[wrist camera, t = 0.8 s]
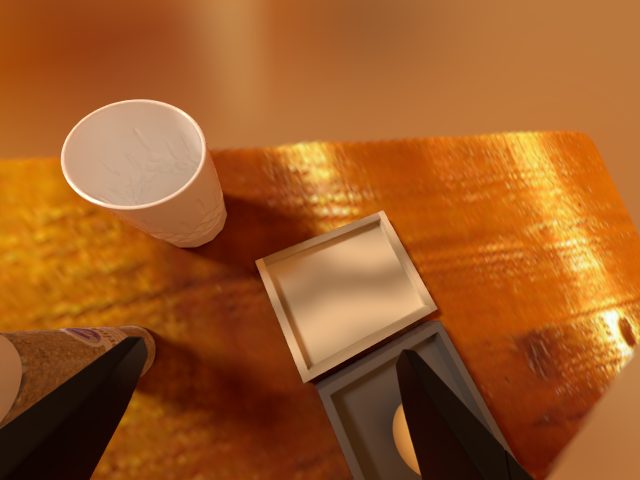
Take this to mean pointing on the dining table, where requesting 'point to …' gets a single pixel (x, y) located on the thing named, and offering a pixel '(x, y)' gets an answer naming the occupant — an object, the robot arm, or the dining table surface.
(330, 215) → the dining table surface
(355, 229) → the tray
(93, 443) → the robot arm
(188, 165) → the white cup
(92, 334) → the sprinkles bottle
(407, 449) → the ball
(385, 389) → the dish
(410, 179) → the dining table surface
